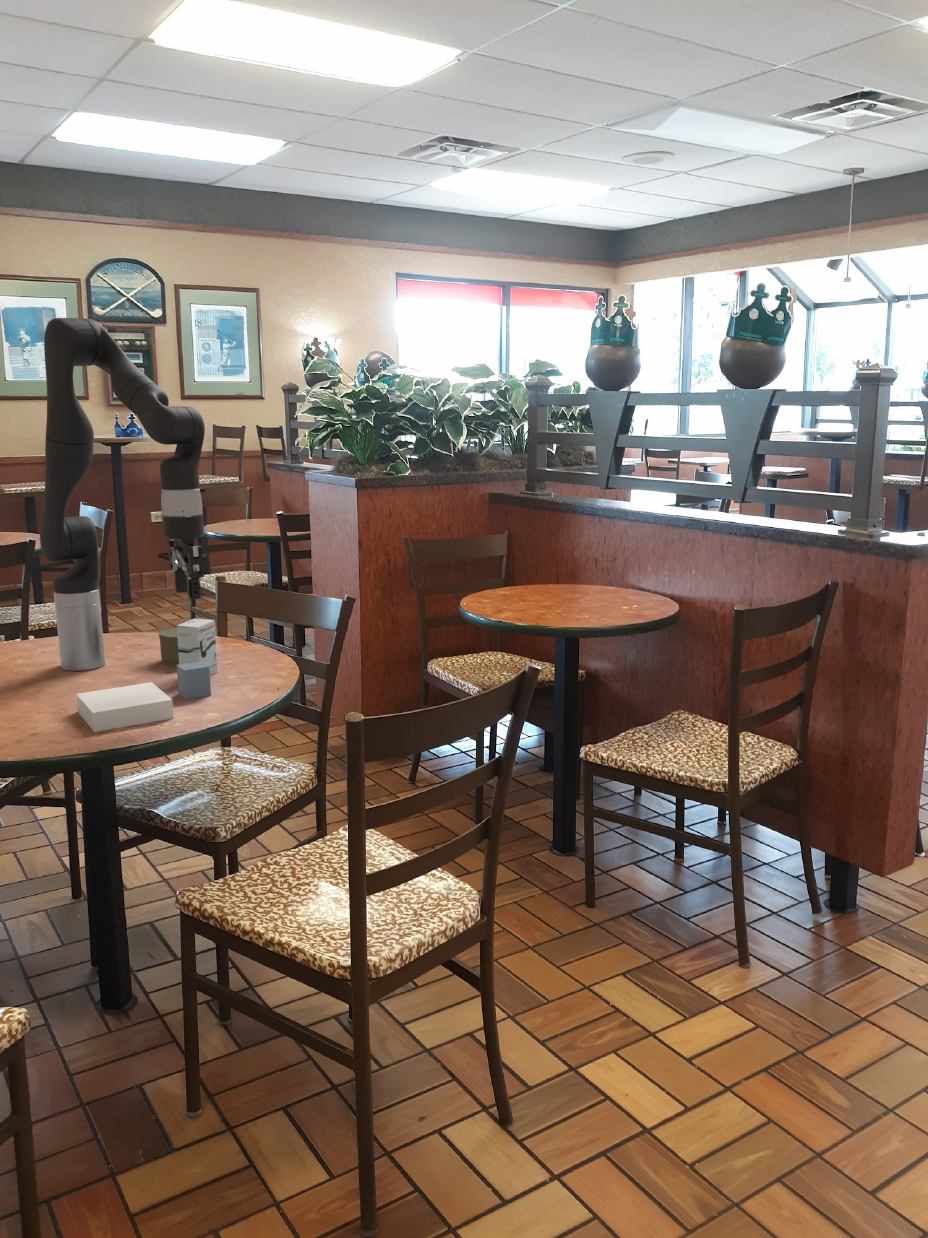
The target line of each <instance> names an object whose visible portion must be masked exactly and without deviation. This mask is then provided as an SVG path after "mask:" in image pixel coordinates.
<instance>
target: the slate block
mask: <svg viewBox="0 0 928 1238" xmlns="http://www.w3.org/2000/svg"><path fill="white" fill-rule="evenodd" d="M176 672H177V673H176V675H177V686H178V687H177V688H178V689H177V690H178V694H179V695H180V696H181V697H182V698H184V699H185V700H186V699H187V700H192V699H197V698H203V697H204V698H206V697H211V696H212V689H211V688H212V687H211V676H210V670H209V666H208V665H206V664H205V663H203V662H202V661H200V662H193V663H186V664H179V665H177V667H176Z"/></svg>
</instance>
